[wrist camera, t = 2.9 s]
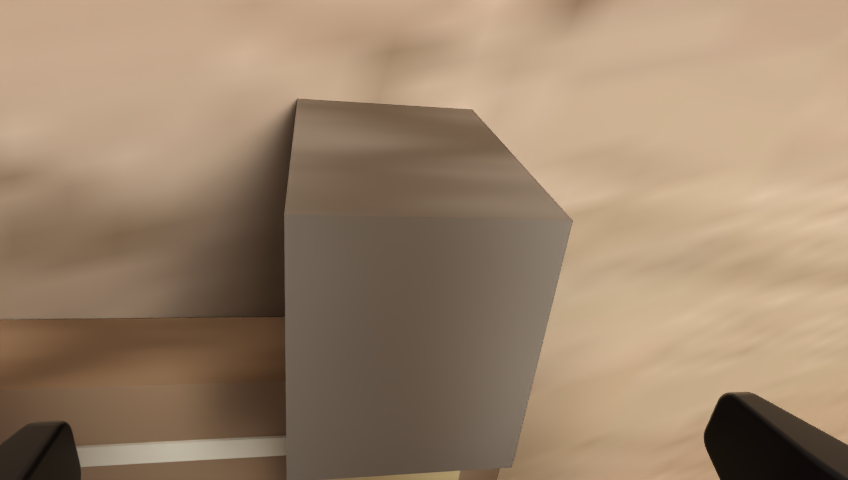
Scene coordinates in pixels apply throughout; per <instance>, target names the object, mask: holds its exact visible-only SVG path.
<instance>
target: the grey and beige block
mask: <svg viewBox="0 0 848 480" xmlns="http://www.w3.org/2000/svg"><path fill="white" fill-rule="evenodd" d="M572 222H573V220H572V219H571V218H570V217H569V216H568V215H567V214H566V213H565V212H564V211H563V209H562V208H561V207H560V206H559V205H558V204H557V203H556V202H555V201H554V199H553V198H552V197H551V196H550V195H549V194H548V193H547V192H546V191H545V189H544V188H543V187H542V186H541V185H540V184H539V183H538V182H537V181H536V180H535V178H534V177H533V176H532V175H531V174H530V173H529V172H528V171H527V170H526V168H525V167H524V166H523V165H522V164H521V163H520V162H519V161H518V160H517V159H516V157H515V156H514V155H513V154H512V153H511V152H510V151H509V150H508V149H507V147H506V146H505V145H504V144H503V143H502V142H501V141H500V140H499V139H498V137H497V136H496V135H495V134H494V133H493V132H492V131H491V130H490V129H489V128H488V126H487V125H486V124H485V123H484V122H483V121H482V120H481V119H480V118H479V116H478V115H477V114H476V113H475V112H474V111H473V110H470V109H453V108H437V107H421V106H405V105H389V104H373V103H357V102H341V101H325V100H309V99H297V108H296V116H295V125H294V133H293V142H292V151H291V159H290V168H289V177H288V185H287V194H286V203H285V211H284V250H285V361H286V471H287V480H458V479H459V474H460V471H463V470H478V469H493V468H508V467H512V464H513V460H514V456H515V452H516V448H517V444H518V440H519V436H520V432H521V428H522V424H523V420H524V416H525V412H526V408H527V404H528V400H529V395H530V391H531V387H532V383H533V379H534V375H535V371H536V367H537V363H538V359H539V355H540V351H541V347H542V343H543V339H544V335H545V331H546V327H547V323H548V319H549V315H550V311H551V307H552V303H553V299H554V295H555V291H556V287H557V283H558V279H559V274H560V270H561V266H562V262H563V258H564V254H565V250H566V246H567V242H568V238H569V234H570V230H571V226H572Z"/></svg>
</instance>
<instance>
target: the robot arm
mask: <svg viewBox="0 0 848 480" xmlns="http://www.w3.org/2000/svg"><path fill="white" fill-rule="evenodd" d="M704 443H705V447H706V450H707V452H708V454H709V456H710V459H711V461H712V463H713V465H714V467H715V469H716V472H717V474H718V476H719V478H720V480H848V445H847V444H845V443H843V442H841V441H840V440H838V439H836V438H834V437H832V436H830V435H829V434H827V433H825V432H823V431H821V430H820V429H818V428H816V427H814V426H812V425H810V424H809V423H807V422H805V421H803V420H801V419H800V418H798V417H796V416H794V415H792V414H790V413H789V412H787V411H785V410H783V409H781V408H779V407H778V406H776V405H774V404H772V403H770V402H769V401H767V400H765V399H763V398H761V397H759V396H758V395H756V394H753V393H750V392H731V393H725V394H723V395H722V396H721V397H720V398H719V400H718V402H717V404H716V406H715V409H714V411H713V413H712V415H711V418H710V420H709V422H708V424H707V426H706V429H705V432H704ZM0 480H81V465H80V461H79V457H78V453H77V449H76V444H75V440H74V436H73V432H72V429H71V426H70V425H69V424H68V423H67V422H66V421H38V422H31V423H28V424H26V425H24V426H23V427H21V428H20V429H19V430H17V431H16V432H15V433H13V434H12V435H11V436H10V437H8V438H7V439H6V440H4V441H3V442H2V443H0Z"/></svg>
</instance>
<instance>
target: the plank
mask: <svg viewBox="0 0 848 480" xmlns="http://www.w3.org/2000/svg"><path fill="white" fill-rule="evenodd" d="M38 421H66V422H67V423H68V424H69V425H70V426H71V429H72V432H73V436H74V440H75V444H76V449H77V453H78V457H79V461H80V465H81V480H287V471H286V361H285V317H220V318H126V319H31V320H0V443H2V442H3V441H4V440H6V439H7V438H8V437H10V436H11V435H12V434H13V433H15V432H16V431H17V430H19V429H20V428H21V427H23V426H24V425H26V424H28V423H31V422H38ZM499 469H500V468H493V469H478V470H463V471H460V474H459V479H458V480H497V477H498V473H499Z"/></svg>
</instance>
